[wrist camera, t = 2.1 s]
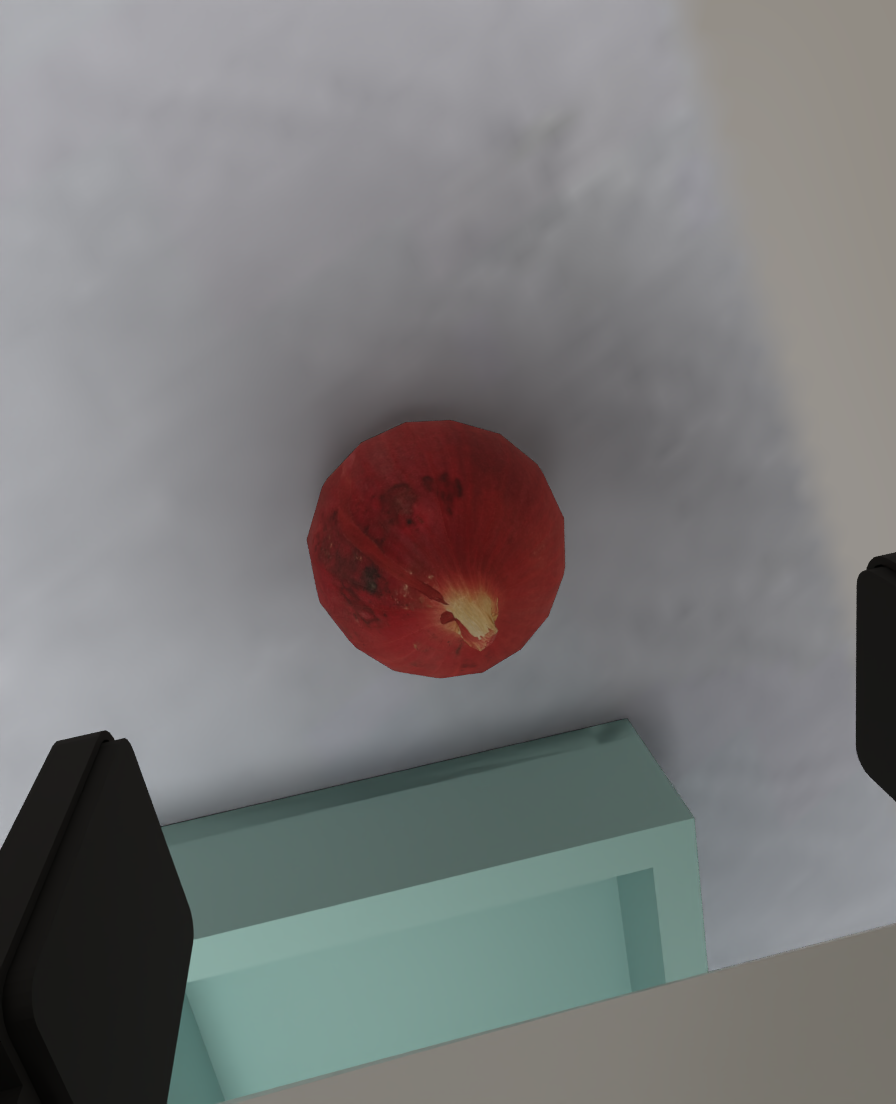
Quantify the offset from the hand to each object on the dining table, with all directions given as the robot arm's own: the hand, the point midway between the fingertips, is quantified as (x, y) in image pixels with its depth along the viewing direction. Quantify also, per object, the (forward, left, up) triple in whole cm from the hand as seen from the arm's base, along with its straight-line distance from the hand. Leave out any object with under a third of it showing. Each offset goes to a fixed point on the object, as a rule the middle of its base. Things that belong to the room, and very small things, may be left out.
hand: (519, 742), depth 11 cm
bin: (-17, +3, -13) cm, 21 cm away
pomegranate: (-1, 0, -13) cm, 13 cm away
